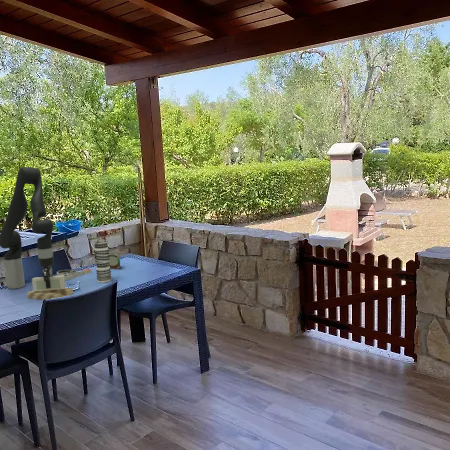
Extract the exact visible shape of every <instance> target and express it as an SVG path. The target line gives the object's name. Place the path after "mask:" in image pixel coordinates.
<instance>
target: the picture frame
mask: <svg viewBox="0 0 450 450" xmlns="http://www.w3.org/2000/svg"><path fill="white" fill-rule="evenodd" d="M46 279H48V278H46ZM31 282H32V291H33V292H36V291H47V290H58V289H65V288H66V283H65V282H66V281H65V280H64V275H59V276H58V275H52V276H51V277H50V286H51V288H48V289H47V288H46V282H44V278H43V276H40V277H39V276H38V277H33V278H32V279H31Z"/></svg>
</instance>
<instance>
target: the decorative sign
mask: <svg viewBox="0 0 450 450" xmlns="http://www.w3.org/2000/svg"><path fill="white" fill-rule="evenodd" d="M89 274H92V268H86V269H82V270H80V271H77V270H74V269H60V270H58V271H56V276H59V275H64V280H67V281H70V279H71V280H73V279H75V278H78V277H81V276H83V275H89Z"/></svg>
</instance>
